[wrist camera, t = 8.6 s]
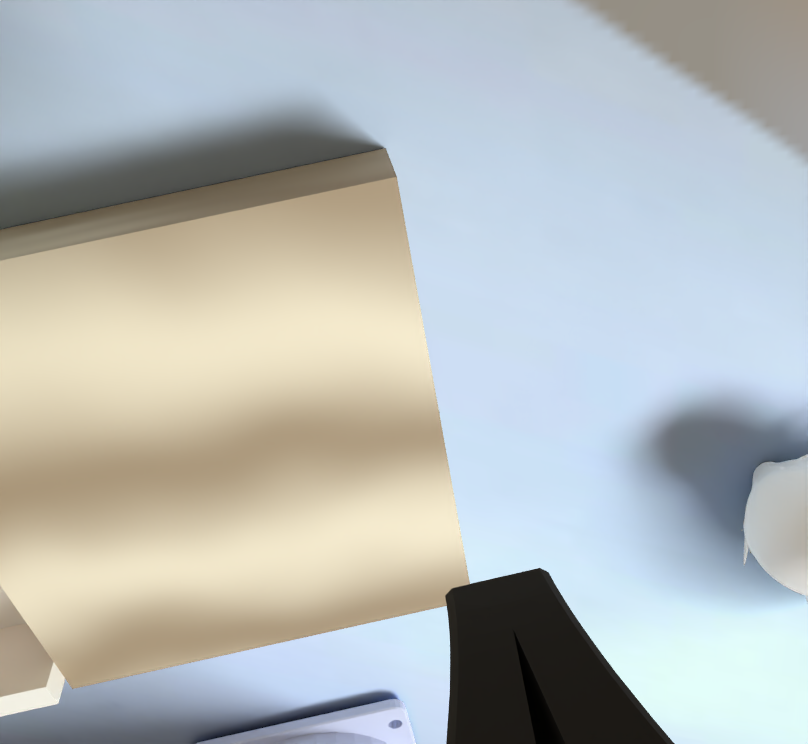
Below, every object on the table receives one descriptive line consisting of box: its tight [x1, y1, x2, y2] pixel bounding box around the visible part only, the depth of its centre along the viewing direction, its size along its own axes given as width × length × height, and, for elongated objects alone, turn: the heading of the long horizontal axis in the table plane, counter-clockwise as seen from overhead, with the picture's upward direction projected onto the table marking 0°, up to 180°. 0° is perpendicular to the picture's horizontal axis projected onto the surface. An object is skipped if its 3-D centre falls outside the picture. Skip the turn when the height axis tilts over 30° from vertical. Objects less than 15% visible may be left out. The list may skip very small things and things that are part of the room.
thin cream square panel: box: [0, 148, 470, 689], centre depth 19 cm, size 13×12×2 cm
